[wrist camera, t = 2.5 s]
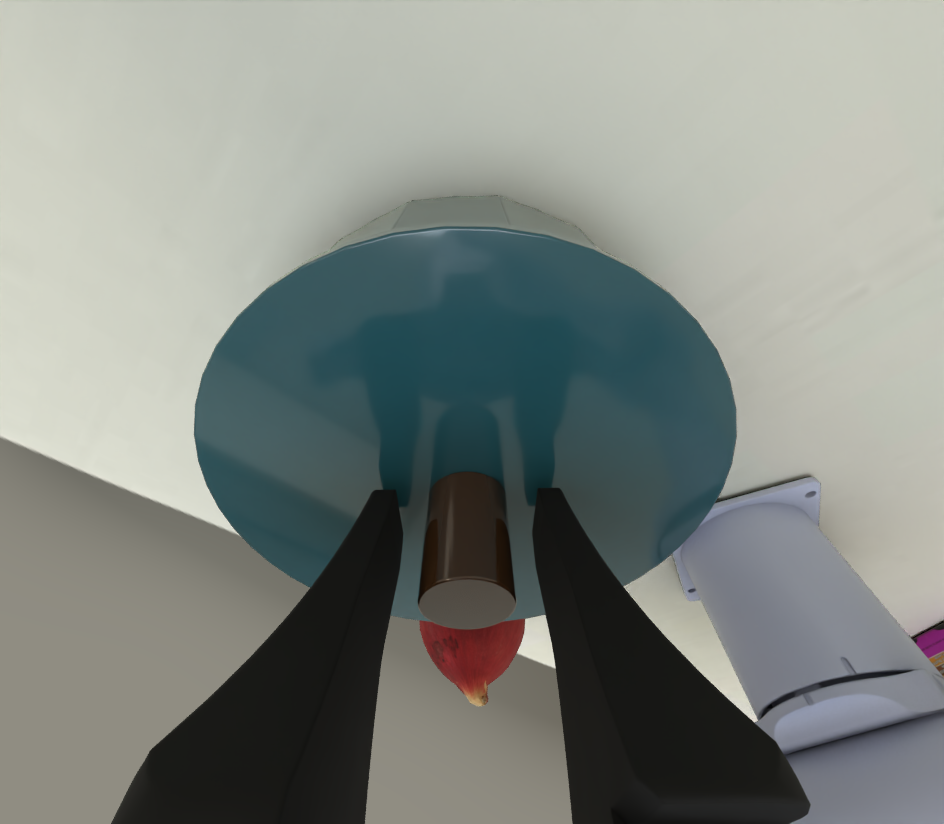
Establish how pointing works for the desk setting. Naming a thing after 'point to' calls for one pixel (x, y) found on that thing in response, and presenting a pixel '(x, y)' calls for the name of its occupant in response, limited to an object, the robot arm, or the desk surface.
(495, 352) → the pot lid
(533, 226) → the pot
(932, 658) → the candy bar box
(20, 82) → the desk surface
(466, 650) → the onion
